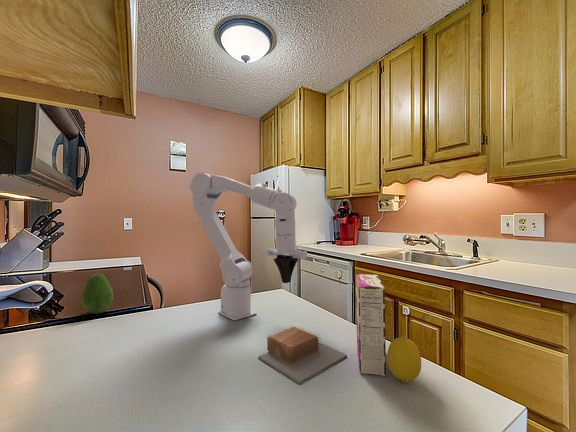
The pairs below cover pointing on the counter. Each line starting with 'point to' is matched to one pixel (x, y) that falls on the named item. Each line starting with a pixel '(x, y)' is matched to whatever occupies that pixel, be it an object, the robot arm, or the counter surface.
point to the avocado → (97, 294)
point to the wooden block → (292, 344)
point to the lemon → (404, 359)
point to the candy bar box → (370, 324)
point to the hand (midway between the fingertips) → (286, 282)
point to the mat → (305, 363)
